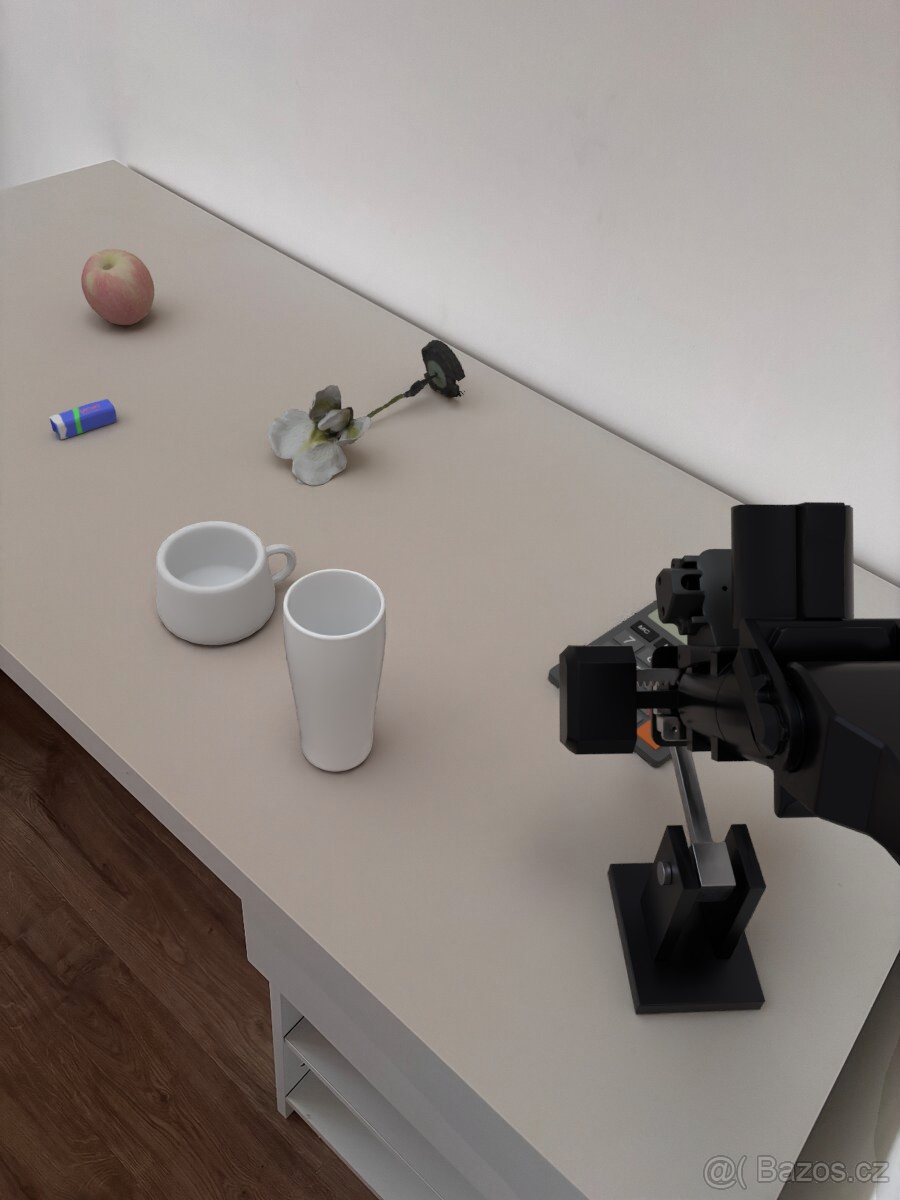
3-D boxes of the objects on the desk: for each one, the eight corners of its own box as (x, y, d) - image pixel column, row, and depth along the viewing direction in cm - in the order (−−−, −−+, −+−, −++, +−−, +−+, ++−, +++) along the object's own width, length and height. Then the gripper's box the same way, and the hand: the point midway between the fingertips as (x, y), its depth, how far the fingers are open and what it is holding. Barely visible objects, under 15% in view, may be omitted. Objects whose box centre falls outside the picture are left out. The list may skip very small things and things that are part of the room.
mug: (179, 664, 84) (170, 610, 80) (143, 588, 90) (133, 534, 86) (319, 620, 88) (318, 566, 84) (276, 550, 94) (273, 497, 90)
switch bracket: (607, 872, 73) (633, 787, 66) (720, 869, 73) (757, 785, 67) (635, 1014, 65) (668, 935, 59) (760, 1009, 66) (807, 930, 59)
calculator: (547, 669, 84) (668, 590, 92) (546, 677, 85) (666, 598, 93) (658, 761, 78) (778, 668, 86) (656, 768, 79) (774, 676, 87)
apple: (77, 313, 121) (64, 247, 116) (140, 297, 125) (130, 232, 119) (106, 345, 117) (94, 277, 111) (170, 327, 120) (161, 261, 115)
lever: (638, 699, 74) (648, 672, 71) (683, 699, 74) (694, 672, 71) (681, 905, 64) (694, 883, 62) (732, 904, 64) (747, 881, 62)
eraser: (52, 431, 105) (48, 414, 103) (110, 414, 108) (107, 397, 106) (59, 441, 104) (55, 424, 102) (118, 424, 106) (115, 407, 105)
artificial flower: (477, 421, 113) (495, 357, 105) (303, 517, 104) (307, 455, 95) (426, 366, 116) (439, 299, 107) (252, 455, 107) (251, 390, 98)
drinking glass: (395, 726, 81) (401, 582, 70) (361, 795, 76) (363, 651, 66) (313, 701, 82) (308, 556, 72) (275, 766, 77) (263, 621, 67)
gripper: (939, 552, 56) (810, 566, 71) (590, 551, 54) (536, 566, 69) (941, 765, 55) (811, 732, 71) (591, 771, 54) (537, 736, 69)
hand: (676, 688), depth 70 cm, fingers closed, pressing on lever
